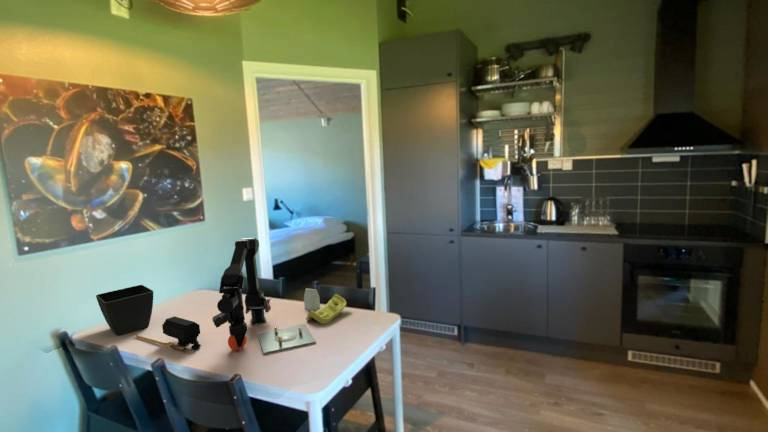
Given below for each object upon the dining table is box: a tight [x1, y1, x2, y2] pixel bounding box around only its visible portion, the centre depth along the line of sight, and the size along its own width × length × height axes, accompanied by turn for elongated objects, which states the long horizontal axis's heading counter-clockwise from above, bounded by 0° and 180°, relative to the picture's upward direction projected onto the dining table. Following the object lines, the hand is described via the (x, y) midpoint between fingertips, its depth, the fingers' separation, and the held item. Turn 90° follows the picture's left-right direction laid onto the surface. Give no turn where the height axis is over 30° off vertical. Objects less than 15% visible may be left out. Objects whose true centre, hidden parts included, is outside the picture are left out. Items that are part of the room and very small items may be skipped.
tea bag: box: [303, 288, 321, 312], centre depth 201 cm, size 4×7×10 cm, turn 61°
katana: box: [134, 334, 187, 352], centre depth 168 cm, size 1×35×3 cm, turn 60°
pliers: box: [245, 296, 272, 314], centre depth 210 cm, size 12×20×3 cm, turn 179°
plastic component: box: [305, 293, 347, 325], centre depth 191 cm, size 20×7×10 cm
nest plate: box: [257, 323, 317, 356], centre depth 167 cm, size 20×20×1 cm
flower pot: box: [95, 284, 154, 336], centre depth 187 cm, size 19×19×17 cm
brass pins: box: [273, 326, 302, 344], centre depth 168 cm, size 12×10×3 cm
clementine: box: [227, 334, 248, 351], centre depth 160 cm, size 8×7×7 cm
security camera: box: [161, 315, 202, 351], centre depth 166 cm, size 7×18×10 cm, turn 58°
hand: (238, 342), depth 160 cm, fingers open, 9 cm apart
